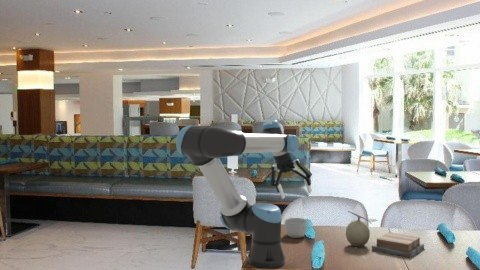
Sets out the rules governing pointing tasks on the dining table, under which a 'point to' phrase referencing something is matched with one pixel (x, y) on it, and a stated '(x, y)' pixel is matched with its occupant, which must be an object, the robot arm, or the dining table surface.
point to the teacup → (295, 227)
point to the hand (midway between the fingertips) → (296, 195)
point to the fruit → (357, 232)
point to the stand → (398, 244)
